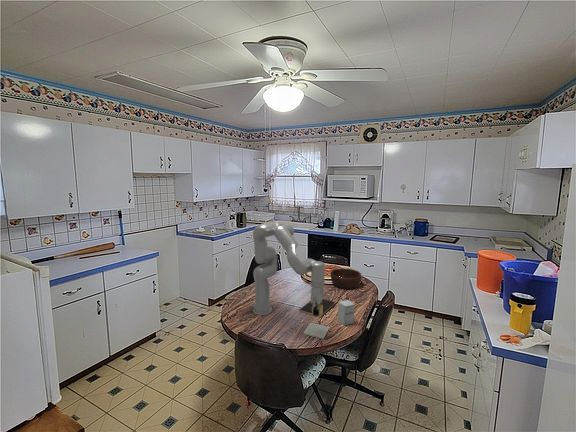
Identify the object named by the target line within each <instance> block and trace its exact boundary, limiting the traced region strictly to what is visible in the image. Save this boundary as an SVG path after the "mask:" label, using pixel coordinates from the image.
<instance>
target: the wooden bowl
mask: <svg viewBox="0 0 576 432" xmlns="http://www.w3.org/2000/svg"><path fill="white" fill-rule="evenodd" d="M339 276H340V277H339ZM341 277H342V278H341ZM361 279H362V273H361V272H360V271H359V270H356V269H351V268H345V267H344V268H335V269H333V270H331V272H330V280H331V283H332V284H333V286H334V287H336V288H339V289H342V290H354V289H357V288H358V287H359V285H360V284H361V281H362V280H361Z"/></svg>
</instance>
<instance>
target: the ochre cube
mask: <svg viewBox="0 0 576 432" xmlns="http://www.w3.org/2000/svg"><path fill="white" fill-rule="evenodd" d="M315 306H317V305H315ZM318 309H319V316H318V318H322V316H321V315H322V314H323V305H320V304H319V305H318ZM311 316H312V317H315V316H314V315H313V307H312V315H311Z"/></svg>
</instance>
